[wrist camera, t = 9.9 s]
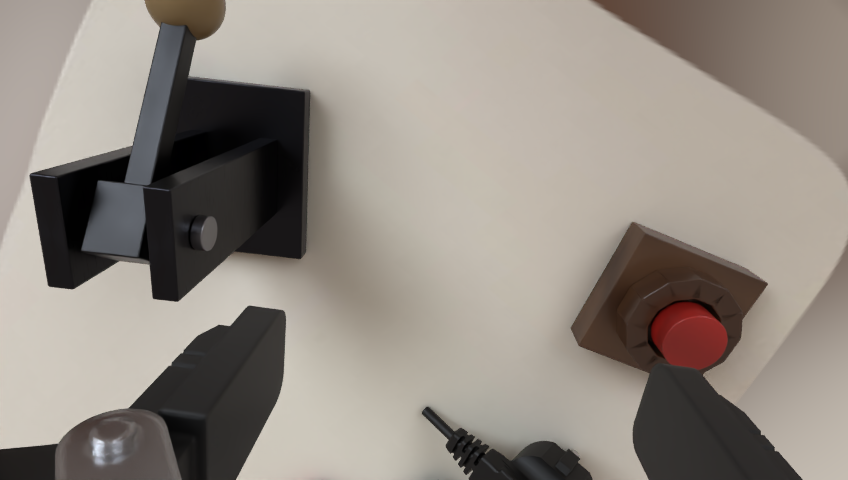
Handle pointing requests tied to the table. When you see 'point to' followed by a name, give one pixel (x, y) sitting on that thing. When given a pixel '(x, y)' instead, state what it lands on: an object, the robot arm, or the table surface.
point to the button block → (660, 296)
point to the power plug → (497, 476)
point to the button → (689, 335)
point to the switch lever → (151, 130)
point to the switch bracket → (195, 189)
